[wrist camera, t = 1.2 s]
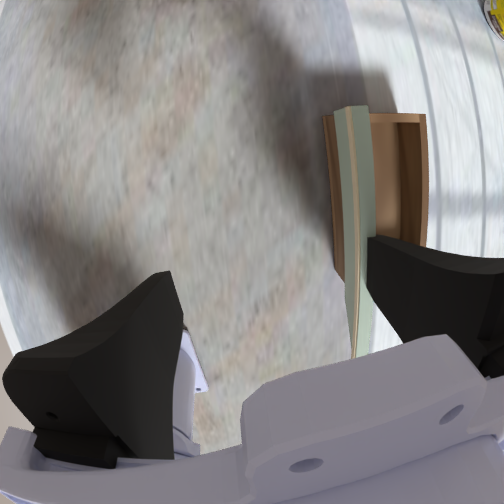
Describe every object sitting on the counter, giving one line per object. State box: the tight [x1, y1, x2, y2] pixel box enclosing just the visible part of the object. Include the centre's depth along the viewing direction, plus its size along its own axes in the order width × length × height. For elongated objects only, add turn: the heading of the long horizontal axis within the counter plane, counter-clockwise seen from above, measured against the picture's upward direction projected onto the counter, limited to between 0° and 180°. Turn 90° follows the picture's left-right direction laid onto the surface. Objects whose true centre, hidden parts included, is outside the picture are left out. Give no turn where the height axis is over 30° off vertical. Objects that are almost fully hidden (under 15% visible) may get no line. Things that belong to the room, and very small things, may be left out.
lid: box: [333, 105, 376, 359], centre depth 15 cm, size 7×12×1 cm
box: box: [322, 113, 429, 283], centre depth 20 cm, size 6×12×4 cm, turn 9°
